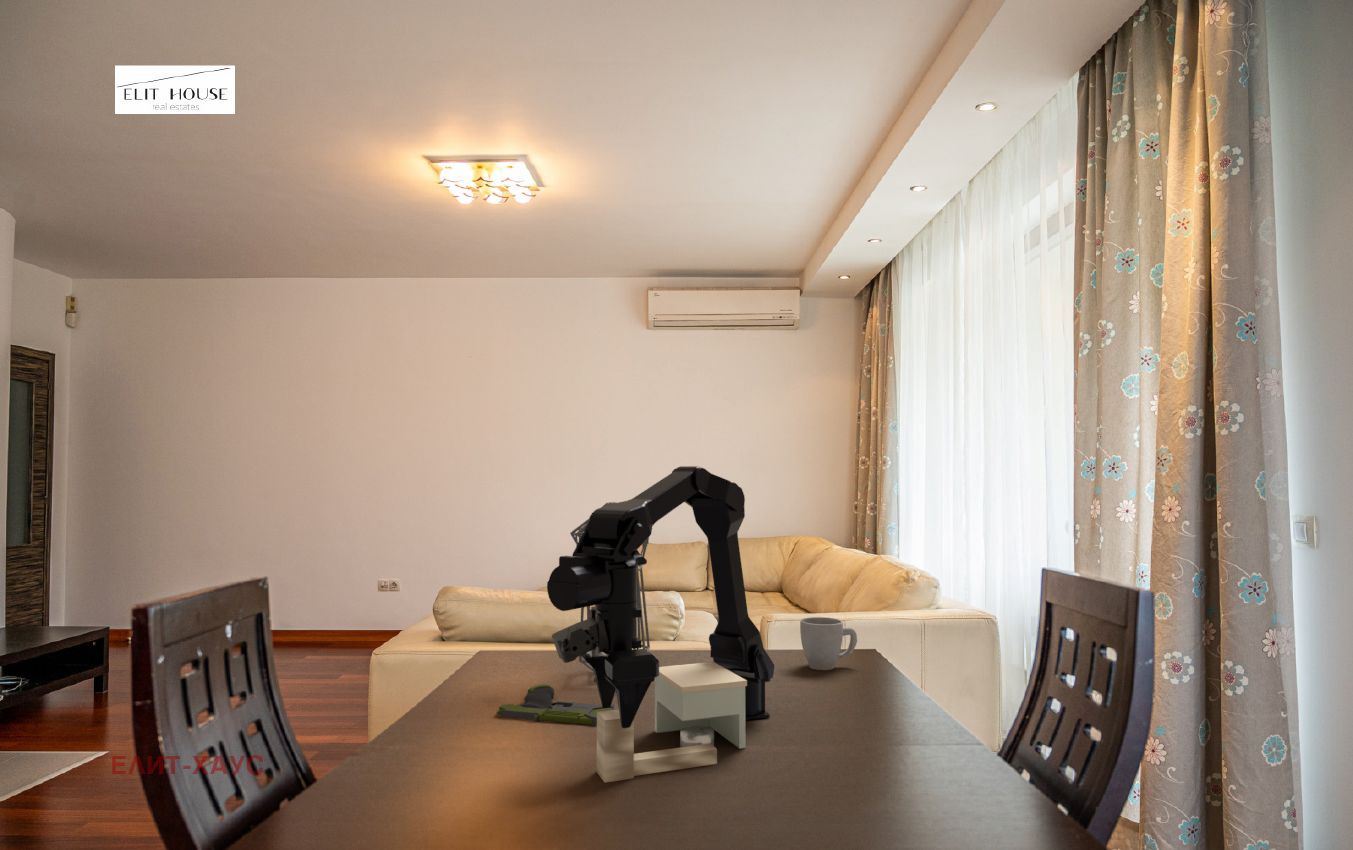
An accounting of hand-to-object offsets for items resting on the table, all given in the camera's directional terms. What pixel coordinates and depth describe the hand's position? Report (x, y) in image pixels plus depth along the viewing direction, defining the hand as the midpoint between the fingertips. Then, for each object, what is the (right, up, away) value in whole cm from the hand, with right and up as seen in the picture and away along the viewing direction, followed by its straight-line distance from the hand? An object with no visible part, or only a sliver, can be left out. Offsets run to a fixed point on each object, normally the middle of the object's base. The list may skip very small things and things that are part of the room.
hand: (615, 717), depth 105 cm
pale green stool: (+12, -8, +14) cm, 20 cm away
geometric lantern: (-5, -11, +50) cm, 51 cm away
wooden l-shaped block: (+6, -8, +2) cm, 10 cm away
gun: (-11, -10, +29) cm, 32 cm away
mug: (+40, -12, +58) cm, 72 cm away
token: (+11, -8, +10) cm, 17 cm away
